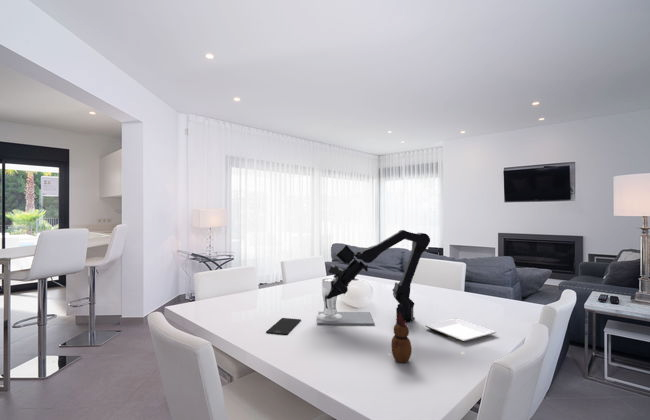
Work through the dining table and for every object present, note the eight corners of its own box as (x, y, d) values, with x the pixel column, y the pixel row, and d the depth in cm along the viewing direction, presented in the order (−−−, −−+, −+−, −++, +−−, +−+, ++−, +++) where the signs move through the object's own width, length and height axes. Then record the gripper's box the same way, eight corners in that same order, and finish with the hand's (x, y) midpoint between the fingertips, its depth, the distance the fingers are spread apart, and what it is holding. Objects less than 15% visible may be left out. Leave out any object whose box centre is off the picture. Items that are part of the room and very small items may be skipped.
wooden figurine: (389, 355, 104) (389, 309, 104) (406, 355, 105) (406, 309, 105) (395, 365, 97) (395, 316, 98) (413, 364, 98) (413, 315, 98)
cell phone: (265, 334, 124) (265, 331, 124) (282, 319, 142) (282, 317, 142) (287, 336, 122) (287, 333, 122) (301, 321, 140) (301, 319, 140)
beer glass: (330, 317, 137) (329, 281, 137) (319, 314, 142) (318, 280, 142) (341, 313, 142) (340, 279, 142) (330, 310, 147) (329, 277, 147)
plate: (463, 346, 113) (463, 340, 113) (424, 329, 129) (424, 324, 129) (496, 336, 122) (496, 331, 122) (456, 322, 138) (456, 317, 138)
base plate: (370, 313, 149) (370, 311, 149) (374, 325, 133) (374, 322, 133) (318, 313, 150) (318, 311, 150) (316, 324, 134) (316, 322, 134)
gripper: (338, 255, 152) (315, 279, 152) (339, 261, 133) (313, 288, 133) (355, 272, 151) (332, 296, 151) (358, 280, 133) (332, 307, 133)
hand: (327, 296), depth 142 cm, fingers closed on beer glass, 7 cm apart
